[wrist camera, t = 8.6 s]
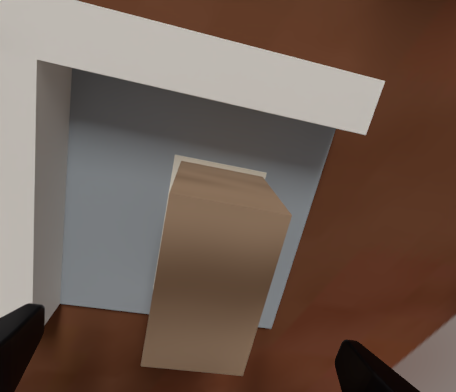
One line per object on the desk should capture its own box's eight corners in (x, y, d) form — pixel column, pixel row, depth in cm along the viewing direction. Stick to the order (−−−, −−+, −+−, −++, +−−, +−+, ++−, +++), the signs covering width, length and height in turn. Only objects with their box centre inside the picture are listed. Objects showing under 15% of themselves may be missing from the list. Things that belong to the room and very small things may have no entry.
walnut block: (231, 295, 16) (242, 376, 11) (159, 285, 16) (140, 366, 11) (262, 176, 14) (291, 215, 9) (181, 160, 14) (169, 193, 9)
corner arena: (346, 85, 13) (384, 81, 11) (270, 324, 18) (282, 368, 15) (25, 3, 11) (-34, -29, 9) (23, 295, 16) (-17, 338, 13)
